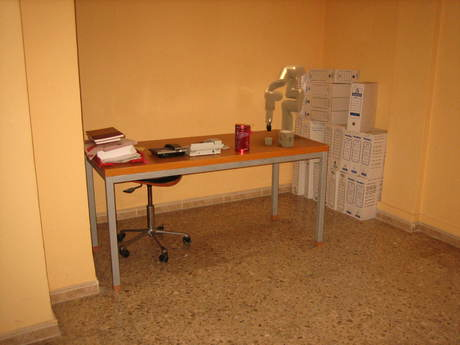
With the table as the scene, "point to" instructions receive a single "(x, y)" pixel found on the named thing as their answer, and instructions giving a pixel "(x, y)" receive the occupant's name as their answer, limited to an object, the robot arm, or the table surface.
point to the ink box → (286, 138)
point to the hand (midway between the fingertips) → (268, 130)
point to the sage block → (268, 141)
